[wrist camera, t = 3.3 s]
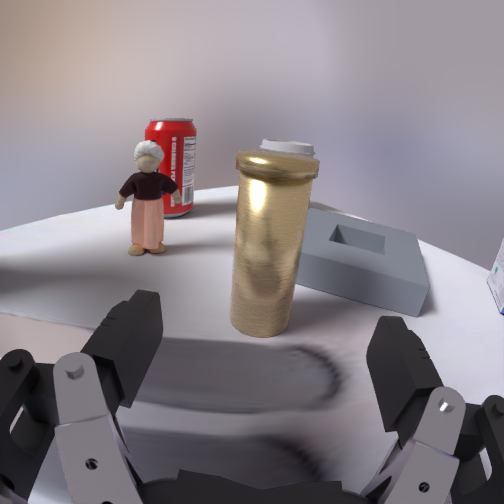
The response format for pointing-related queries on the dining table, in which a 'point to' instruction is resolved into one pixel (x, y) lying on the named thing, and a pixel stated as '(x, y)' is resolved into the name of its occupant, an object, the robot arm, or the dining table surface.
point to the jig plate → (363, 262)
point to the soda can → (175, 160)
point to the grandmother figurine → (147, 199)
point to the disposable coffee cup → (288, 147)
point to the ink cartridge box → (498, 279)
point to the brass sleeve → (268, 238)
